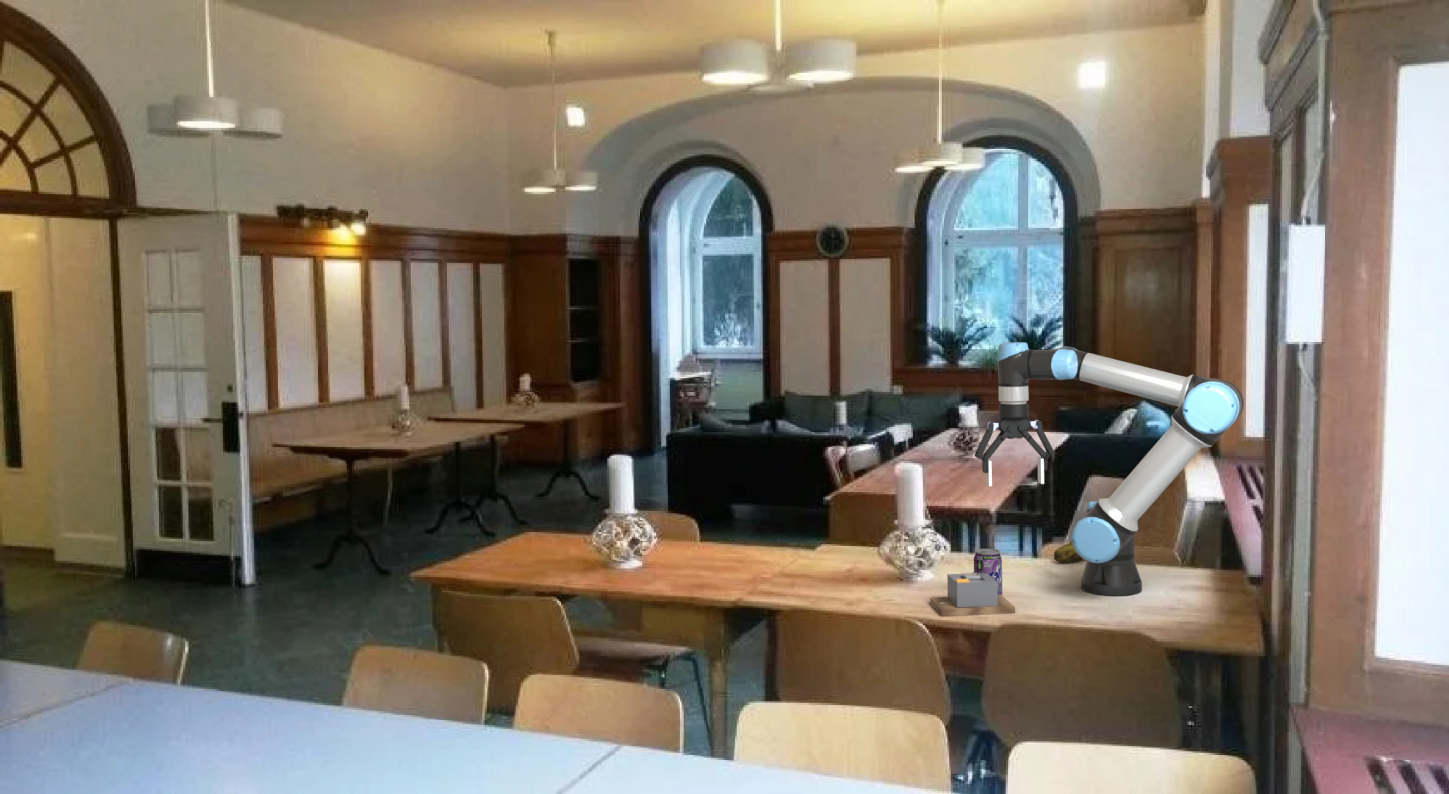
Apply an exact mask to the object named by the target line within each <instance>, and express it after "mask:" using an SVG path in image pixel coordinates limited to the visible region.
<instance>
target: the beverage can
mask: <svg viewBox="0 0 1449 794" xmlns="http://www.w3.org/2000/svg"><path fill="white" fill-rule="evenodd" d="M1000 552H1001V551H1000V549H999V550H998V549H995V548H979V549H976V550H975V554H974V556H973V573H987V574H988V575H989V576H991V577H992V578H993V579H994V580H996V581H997V582H998V594H1000V595H1002V596H1003V558H1002V556H1001V554H1000Z"/></svg>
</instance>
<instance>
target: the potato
mask: <svg viewBox="0 0 1449 794" xmlns="http://www.w3.org/2000/svg"><path fill="white" fill-rule="evenodd" d="M1053 558H1054V560H1055V561H1056V562H1057V563H1059V564H1066V563H1067V564H1071V563H1079V562H1081V561H1083V560H1084V559H1083V558H1082V557H1081V556H1079V554H1078V553H1077V552H1076V551H1075V549H1074V547H1073V544H1072V540H1071V541H1070V542H1068V544H1064V545H1062V546H1060V547H1059V548H1057V549H1056V550H1055V551H1054V552H1053Z"/></svg>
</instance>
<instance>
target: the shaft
mask: <svg viewBox="0 0 1449 794" xmlns="http://www.w3.org/2000/svg"><path fill="white" fill-rule="evenodd" d="M961 574H962V578H963V579H969V581H972V580H980V575H979V574H978V573H974V572H962V573H961Z"/></svg>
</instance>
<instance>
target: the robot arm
mask: <svg viewBox="0 0 1449 794" xmlns="http://www.w3.org/2000/svg"><path fill="white" fill-rule="evenodd" d="M997 351H998V352H997V353H998V354H997V361H996V362H997V372H998V374H997V375H998V377H997V378H998V401H999V402H1000V403H999V404H998V421H997V422H991V421H987V422H986V428H985V432H984V434H983V436H982V439H981V440H980V443H979V444H978V446H977V449H976V451H975V454H974V457H975V459H976V458H977V459H979V460H981V468H982V469H981V471H982V473H984V474H985V483H986V486H988V487H993V475H992V474H993V473H992V472H993V468H992V467H993V465H992V460H991V459H990V458H991V457H992V456H993V454H994V453H995V452H996V451H997V450H998V448H999V447H1000V445H1002V444H1003V442H1004V441H1005V440H1006V439H1008V440H1014V439H1023V438H1024V439H1025V440H1026V442H1028V444H1029V445H1030V446H1031V447H1032V448H1033V449H1034V451H1035V452H1036V453H1037V454H1038V455H1039V456H1040V457H1037V483H1038V484H1041V485H1044V484H1045V471H1047V470H1048V459H1049V457H1052V456H1055V453H1056V452H1055V450H1054V449H1053V446H1052V445H1051V443H1050V441H1049V439H1048V437H1047V435H1046V433H1045V432H1044V431H1045V430H1044V429H1043V423H1042V421H1041V420H1039V419H1034V421H1033V420H1032V421H1030V404H1029V403H1028V401H1029V400H1030V399H1029V398H1030V397H1029V380H1059V381H1064V380H1075V381H1079V382H1085V383H1088V384H1092V385H1096V386H1100V387H1103V388H1107V389H1110V390H1111V389H1112V390H1114V391H1115V390H1116V391H1119V392H1123V393H1127V394H1130V395H1134V396H1139V397H1141V398H1145V399H1149V400H1152V401H1157V402H1160V403H1163V404H1167V405H1171V406H1175V407H1178V408H1177V409H1176V410H1175V411H1174V412H1173V413H1172V415H1171V417H1170V419H1171V426H1170V427H1169V428H1168V429H1167V430H1166V432H1165V433H1164V434H1163V435H1162V436H1161V437H1160V439H1158V441H1157V442H1156V443H1155V444H1154V445H1153V446H1152V448H1151V449H1150V450H1149V451H1148V452H1147V453H1146V454H1145V455H1144V456H1143V458H1142V459H1141V460H1140V461H1139V463H1138V464H1137V465H1136V466H1135V468H1133V470H1131V472H1130V473H1129V474H1128V476H1126V478H1125V479H1124V480H1123V481H1122V483H1121V484H1120V485H1118V487H1117V488H1116V490H1114V492H1113V493H1112V494H1111V495H1110V496H1109V497H1107V498H1099V500H1098V501H1089V502H1087V505H1086V510H1085V511H1086V512H1085V513H1086V515H1085V516H1084V517H1083V518H1082V519H1080V520H1079V521H1077V522H1076V523H1075V525H1074V527H1073V529H1072V532H1071V541H1072V544H1073V547H1074V549H1075V551H1076V552H1077V553H1078V554H1079V556H1081V557H1082V558H1083V560H1085V561H1086V563H1085V566H1084V568H1083V569H1084V570H1083V573H1082V576H1081V579H1080V589H1081V590H1082V591H1084V592H1087V593H1089V594H1090V593H1091V594H1094V595H1101V596H1131V595H1135V594H1139V593H1141V592H1142V591H1143V585H1142V584H1143V582H1142V578H1141V575H1140V573H1139V570H1138V567H1137V564H1136V561H1135V534H1136V533H1137V532H1138V530H1139V526H1138V525H1139V524H1138V521H1139V519H1140V518H1141V517H1142V516H1143V515H1144V514H1145V513H1146V511H1148V509H1149V508H1150V507H1151V506H1152V505H1153V504H1154V503H1155V501H1157V499H1158V498H1159V497H1160V496H1161V494H1163V492H1164V491H1165V490H1166V489H1167V488H1168V487H1169V486H1170V484H1171V483H1172V482H1174V480H1175V479H1176V478H1177V477H1178V475H1179V474H1180V473H1181V472H1182V471H1183V469H1185V467H1187V465H1188V464H1189V463H1190V462H1191V461H1192V459H1193V458H1194V457H1196V455H1197V454H1198V453H1199V451H1201V449H1203V448H1211V447H1213V446H1214V444H1215V443H1216V442H1218V440H1219V439H1220V438H1221V437H1222V436H1223V435H1224V433H1225V432H1227V430H1228V429H1229V428H1230V427H1231V426H1232V425H1233V424H1234V423H1235V422H1236V421H1237V420H1238V419H1239V418H1240V417H1241V414H1242V413H1243V410H1244V407H1245V405H1244V403H1245V402H1244V401H1245V399H1244V396H1243V393H1242V392H1241V390H1240V388H1238V387H1237V385H1235V384H1234V383H1233V382H1231V381H1228V380H1227V379H1226V380H1225V379H1220V378H1213V377H1212V378H1211V377H1207V376H1206V377H1204V376H1200V375H1196V374H1190V375H1187V376H1183V375H1178V374H1174V373H1171V372H1167V371H1162V370H1159V369H1155V368H1150V367H1148V366H1147V367H1146V366H1142V365H1139V364H1135V363H1132V362H1131V363H1130V362H1127V361H1123V360H1118V359H1114V358H1111V357H1106V356H1103V355H1100V354H1099V355H1098V354H1095V353H1090V352H1086V351H1081V350H1080V349H1079V350H1078V349H1076V348H1075V347H1073V346H1061V347H1058V348H1052V349H1035V350H1034V349H1029V345H1028V343H1027V342H1021V341H1017V342H1016V341H1015V342H1001V343H1000V344H999V346H998V349H997ZM1031 427H1032V429H1034V430H1035V433H1036V434H1037V436H1038V438H1039V440H1040V442H1041V445H1042V446H1043V448H1044V449H1045V450H1044V449H1043V448H1042V447H1041V446H1040V444H1038V442H1037V441H1036V440H1035V439H1034V438H1033V436H1032V435H1031V434H1030V433H1029V432H1028V431H1029V430H1030V428H1031ZM997 429H999V431H1000V432H999V433H998V434H997V436H996V438H995V439H994V440H993V442H991V444H990V445H989V446H988V444H989V443H990V440H991V437H992V435H993V433H994V431H996V430H997ZM987 446H988V447H987ZM986 448H987V449H986Z"/></svg>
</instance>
